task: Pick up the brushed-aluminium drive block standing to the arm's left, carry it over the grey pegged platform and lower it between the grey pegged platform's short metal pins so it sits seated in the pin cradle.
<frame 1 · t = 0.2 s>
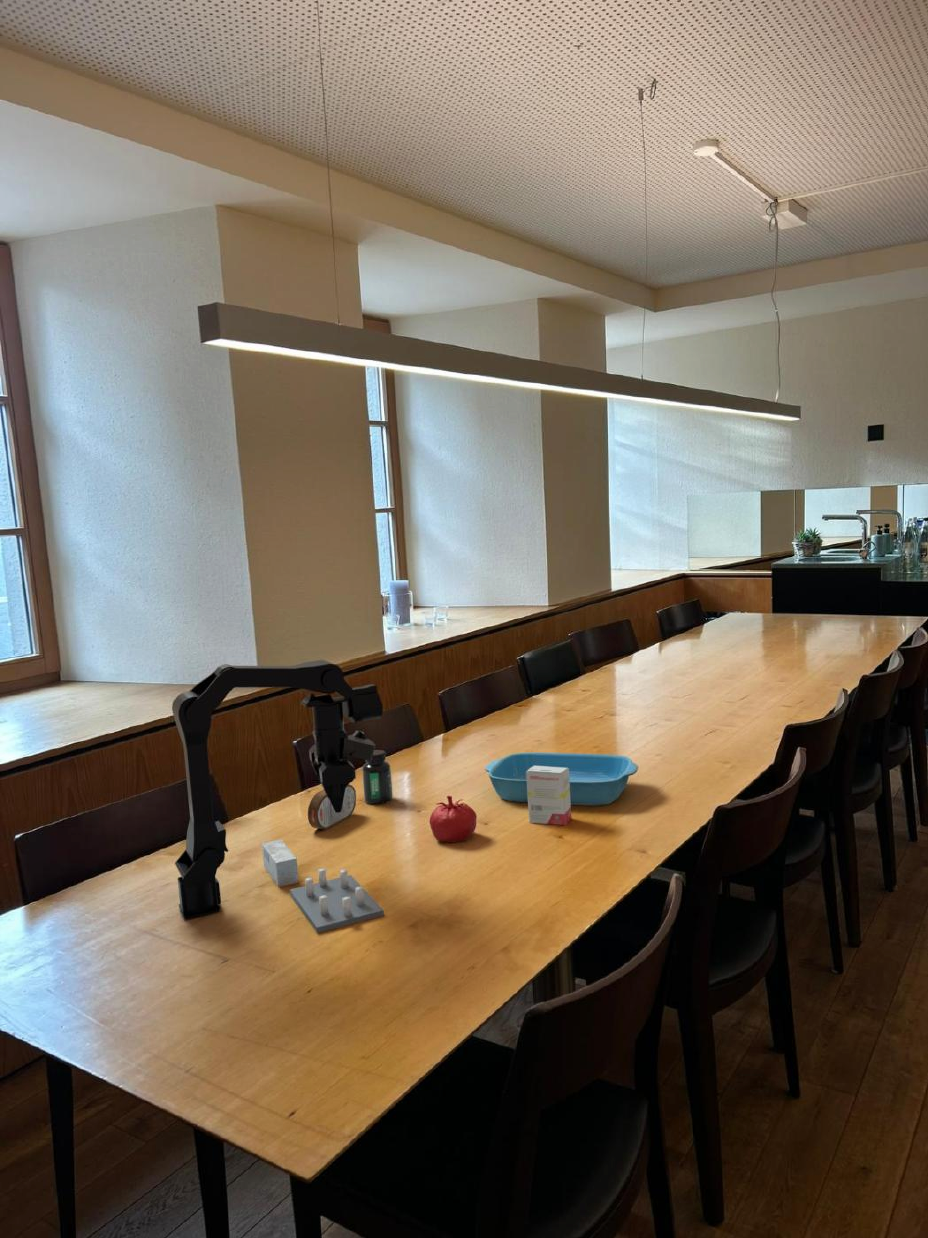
hand: (334, 805, 177), 14 cm above the table, fingers open, 9 cm apart
tin: (334, 824, 208), on the table
grey pegged platform: (335, 905, 165), on the table
drive: (280, 874, 181), on the table
red tomato: (454, 838, 195), on the table
supplement bottle: (378, 801, 222), on the table
ink box: (550, 821, 201), on the table
casserole dish: (561, 794, 220), on the table
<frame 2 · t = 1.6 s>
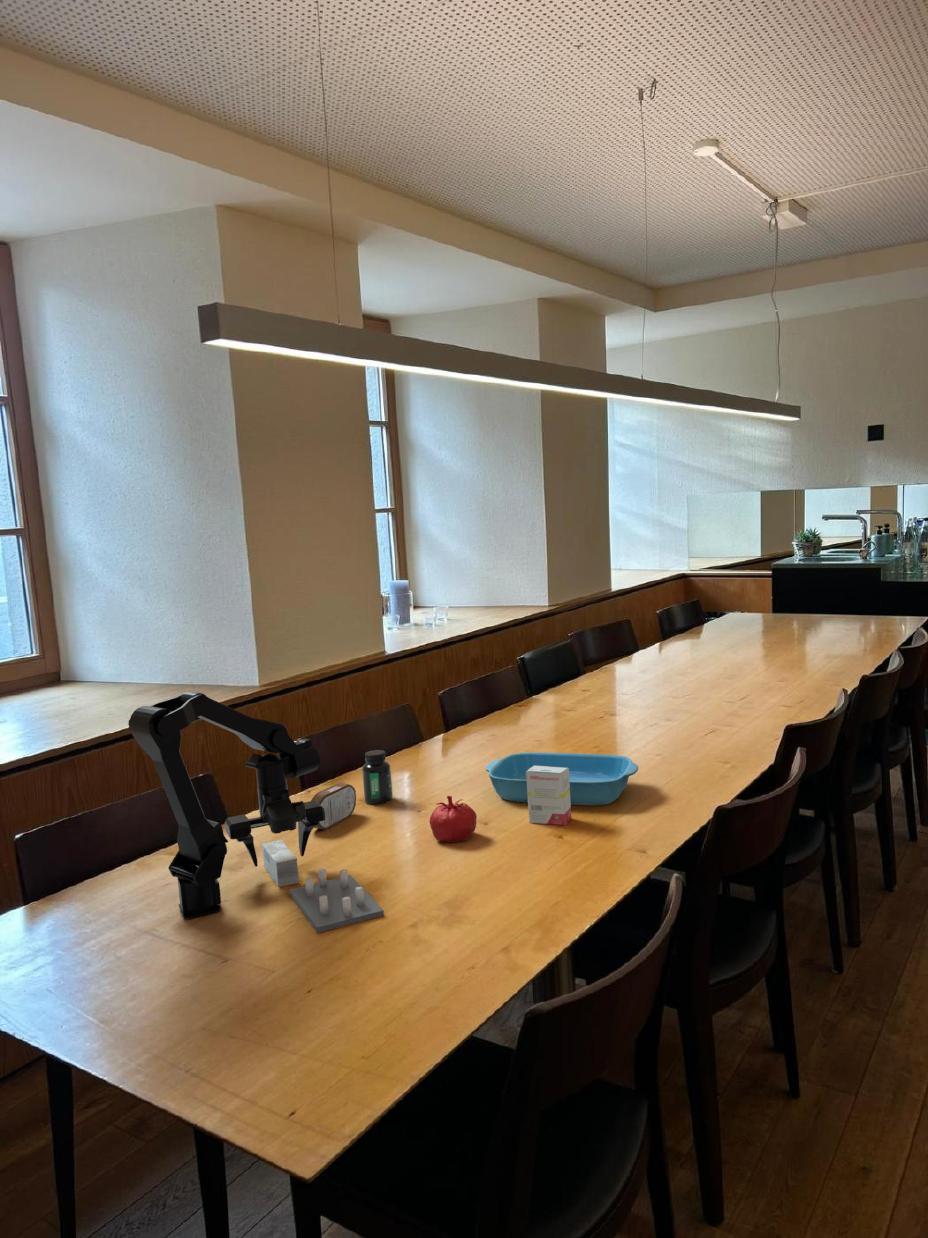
hand: (279, 861, 181), 3 cm above the table, fingers open, 9 cm apart
nothing on the table moved.
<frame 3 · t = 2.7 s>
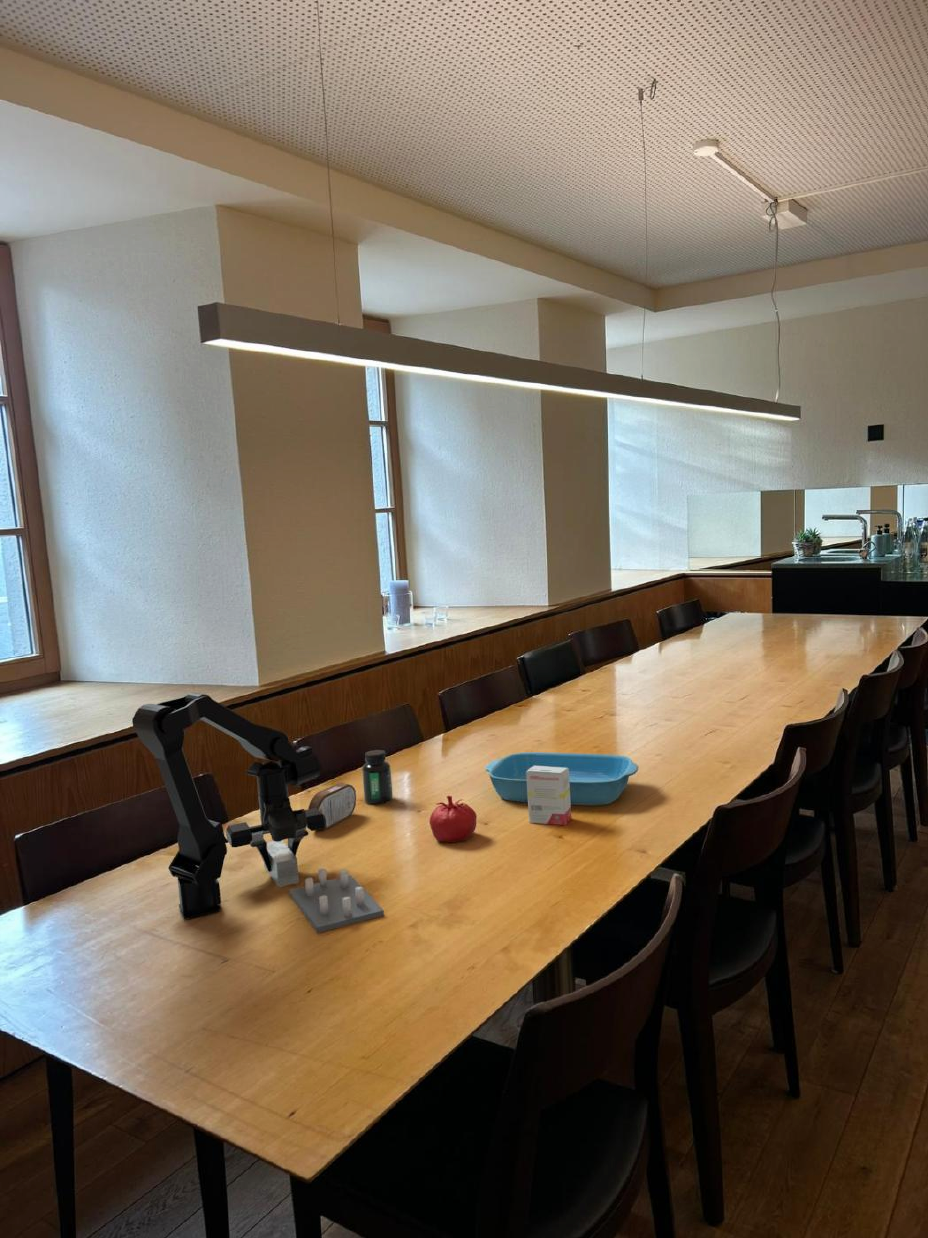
hand: (280, 868, 181), 1 cm above the table, fingers closed on drive, 4 cm apart
drive: (281, 874, 181), on the table, touching gripper
everything else where it was.
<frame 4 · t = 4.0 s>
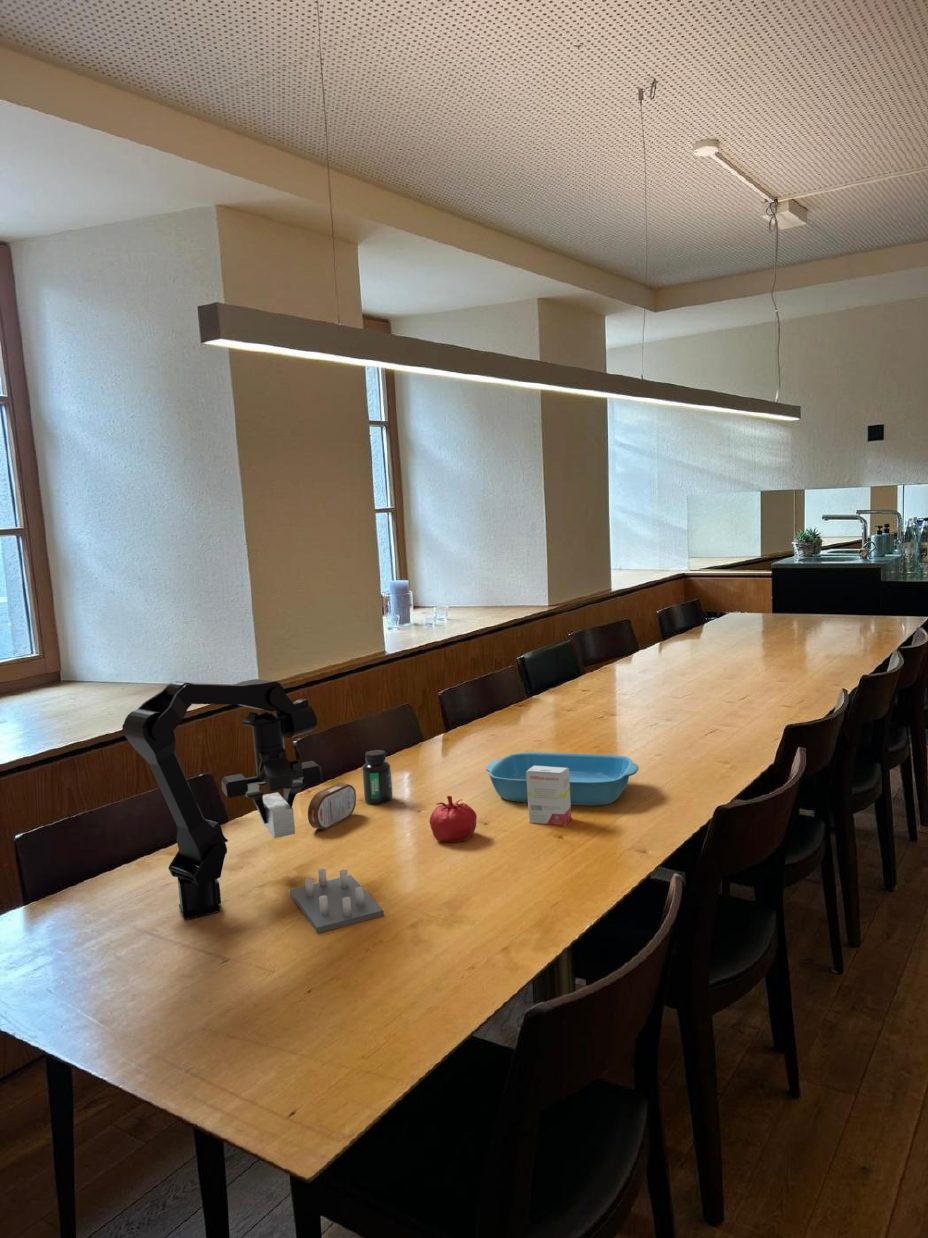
hand: (276, 820, 180), 11 cm above the table, fingers closed on drive, 4 cm apart
drive: (277, 826, 180), point 10 cm above the table, touching gripper
everything else where it was.
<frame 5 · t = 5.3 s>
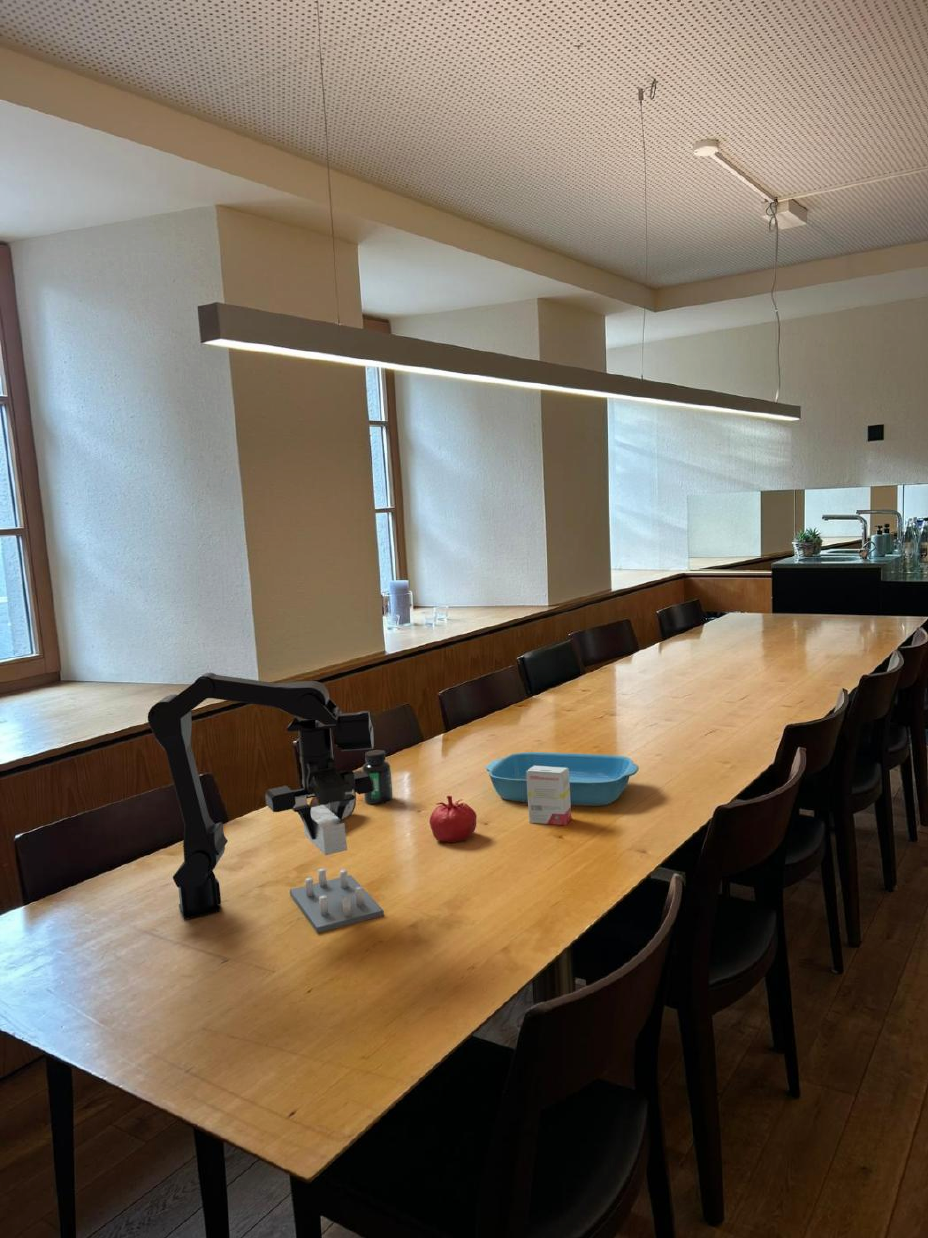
hand: (324, 836, 166), 12 cm above the table, fingers closed on drive, 4 cm apart
drive: (325, 842, 166), point 11 cm above the table, touching gripper
everything else where it was.
when the fingers open (4 cm above the table, at t = 7.5 s): drive drops 2 cm, resting on grey pegged platform.
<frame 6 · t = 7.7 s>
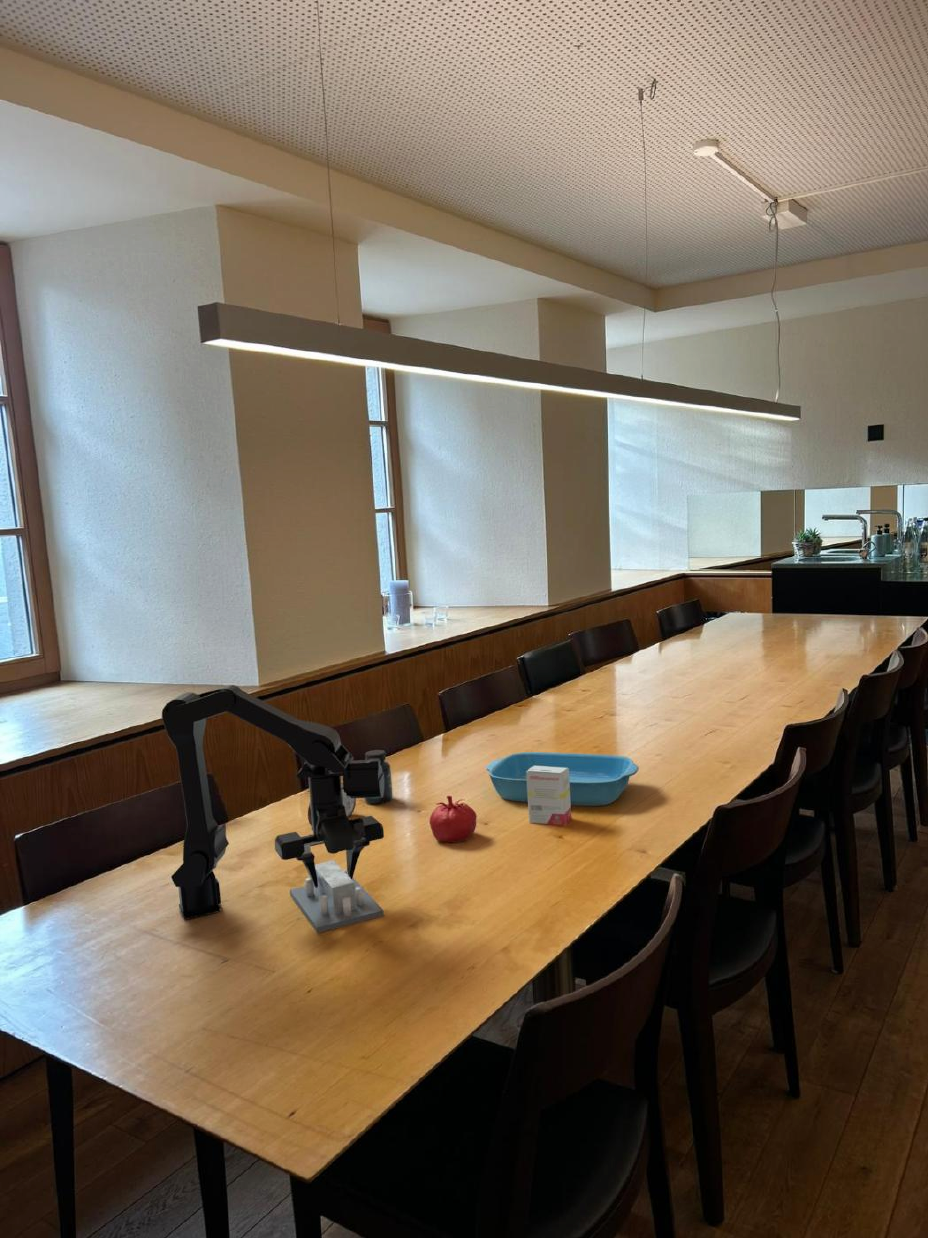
hand: (333, 882, 165), 4 cm above the table, fingers open, 6 cm apart
drive: (335, 900, 165), point 1 cm above the table, touching grey pegged platform
everything else where it was.
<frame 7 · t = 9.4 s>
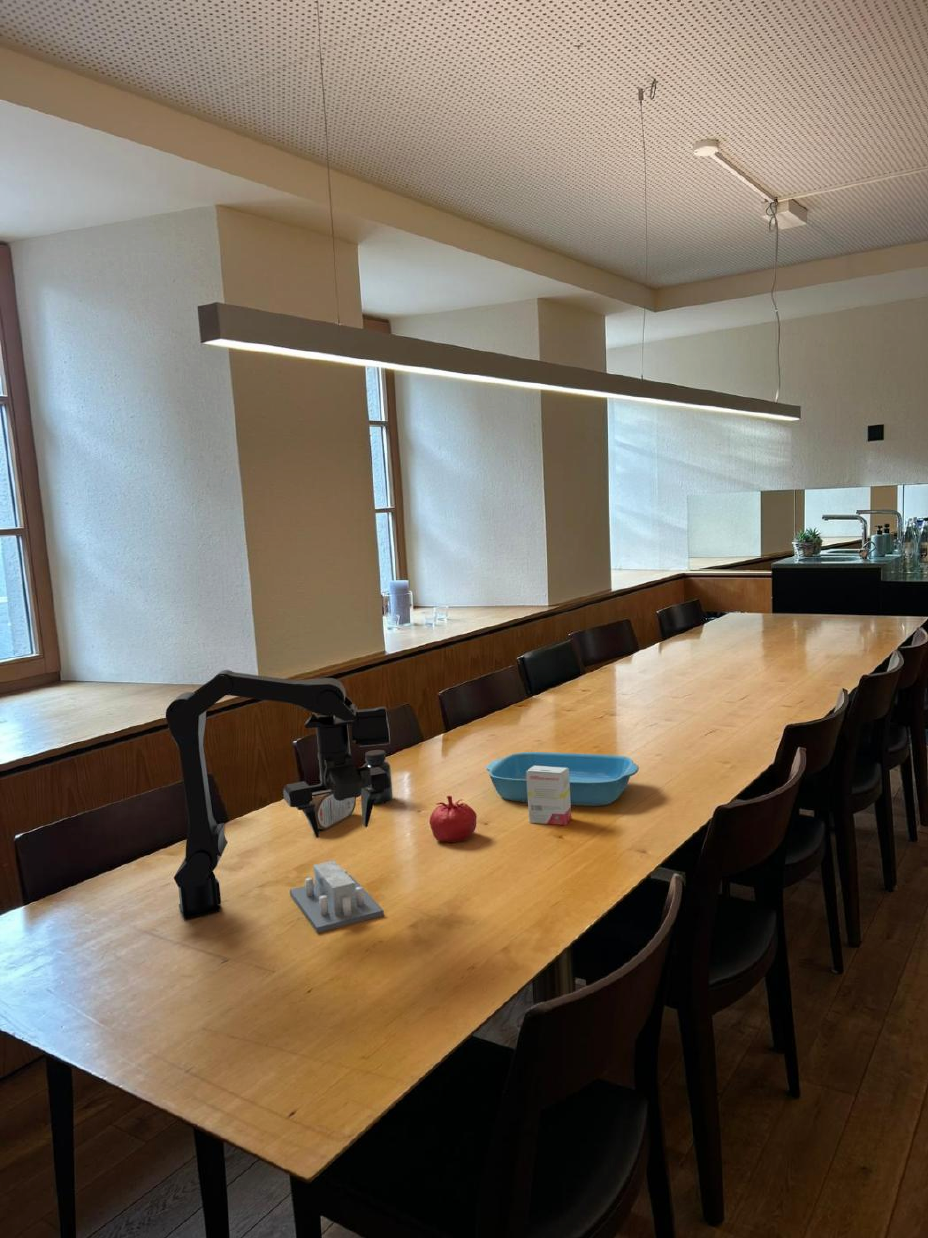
hand: (341, 831, 167), 12 cm above the table, fingers open, 9 cm apart
nothing on the table moved.
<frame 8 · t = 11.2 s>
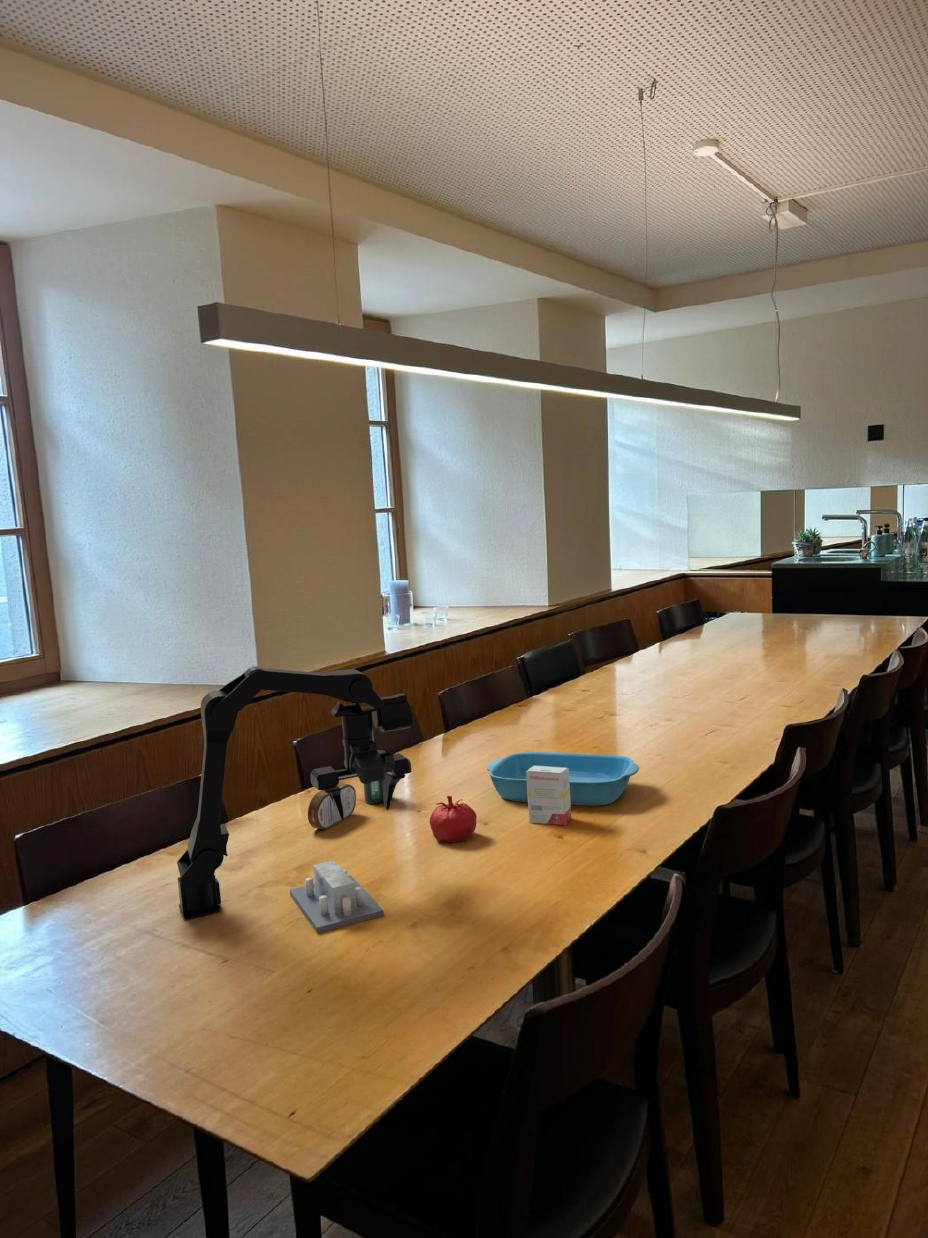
hand: (364, 814, 177), 12 cm above the table, fingers open, 9 cm apart
nothing on the table moved.
at the end: drive 0.3 cm off-centre on the grey pegged platform, point 1.0 cm above the grey pegged platform's base; drive tilted 0°; the gripper is holding nothing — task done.
